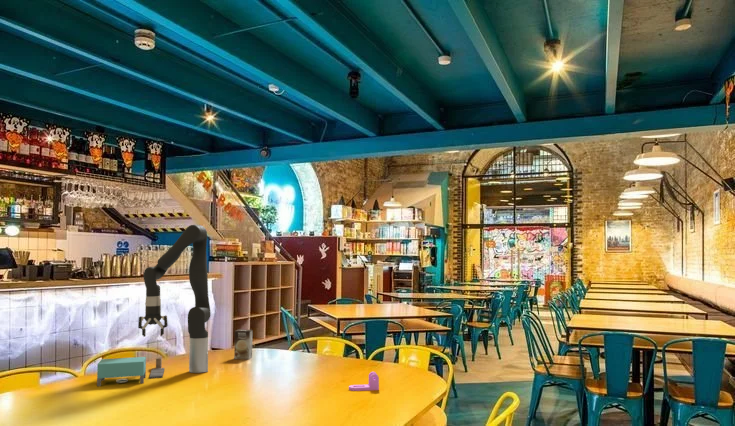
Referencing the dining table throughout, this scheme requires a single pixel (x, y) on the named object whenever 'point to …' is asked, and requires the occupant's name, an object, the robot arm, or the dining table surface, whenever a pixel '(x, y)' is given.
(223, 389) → the dining table surface
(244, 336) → the coffee box
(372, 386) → the bracket
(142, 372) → the teal footstool
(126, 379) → the steel token
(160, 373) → the scraper tool
